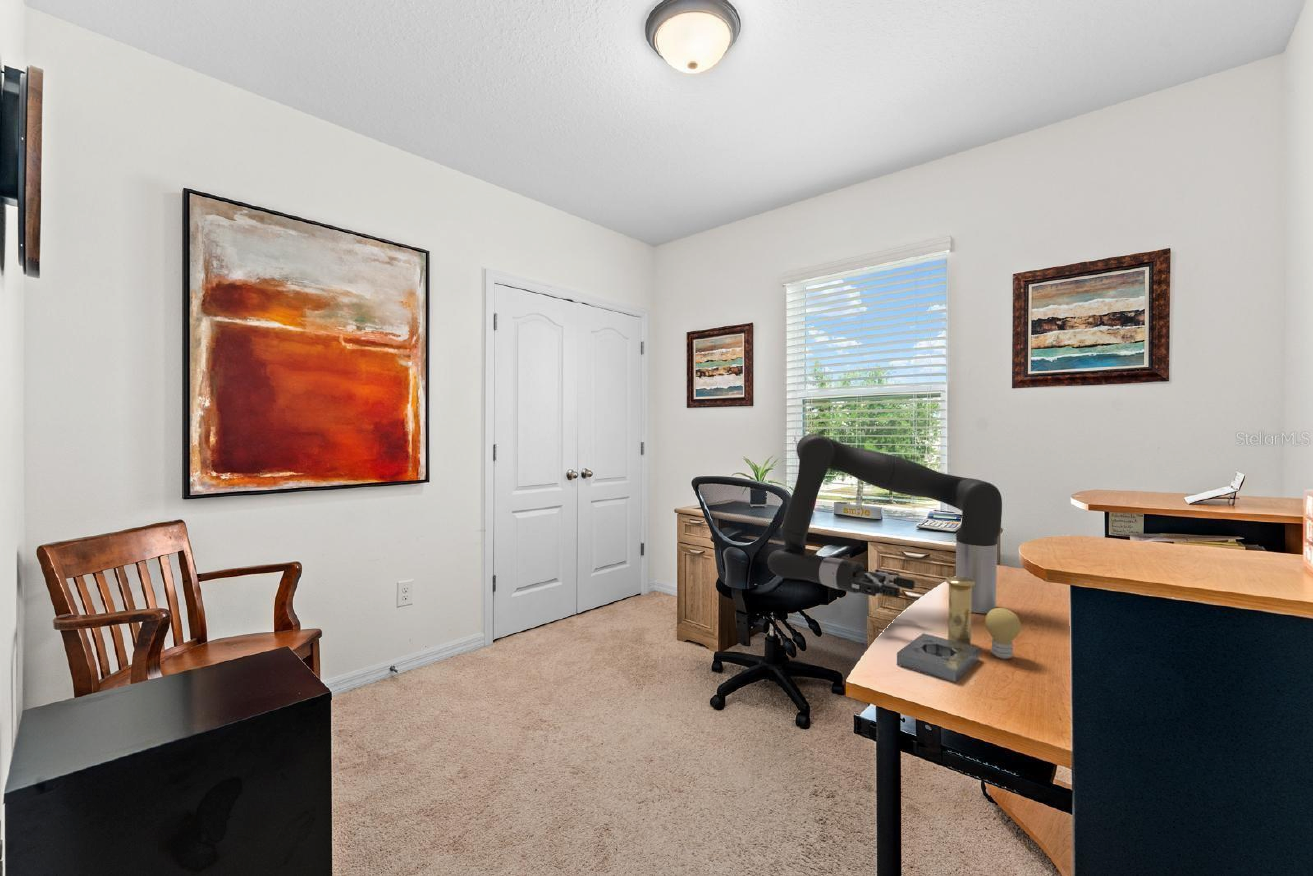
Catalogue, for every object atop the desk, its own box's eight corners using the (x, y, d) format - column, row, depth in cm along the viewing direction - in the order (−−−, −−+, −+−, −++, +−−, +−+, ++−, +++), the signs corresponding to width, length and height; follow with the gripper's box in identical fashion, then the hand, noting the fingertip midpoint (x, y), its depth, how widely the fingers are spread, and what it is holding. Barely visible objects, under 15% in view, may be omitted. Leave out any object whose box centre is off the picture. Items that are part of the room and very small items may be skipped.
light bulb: (1020, 665, 113) (1021, 616, 113) (983, 658, 117) (984, 611, 116) (1020, 654, 119) (1020, 607, 118) (984, 647, 122) (985, 602, 122)
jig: (923, 644, 124) (923, 633, 124) (978, 659, 116) (978, 647, 116) (896, 664, 114) (896, 652, 114) (955, 682, 106) (955, 670, 106)
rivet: (950, 636, 128) (950, 575, 128) (977, 643, 124) (978, 580, 124) (941, 643, 124) (942, 580, 124) (969, 651, 120) (970, 586, 120)
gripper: (828, 565, 138) (894, 579, 127) (855, 555, 148) (919, 567, 137) (827, 595, 139) (893, 612, 127) (854, 583, 149) (918, 597, 137)
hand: (906, 589), depth 132 cm, fingers open, 8 cm apart
